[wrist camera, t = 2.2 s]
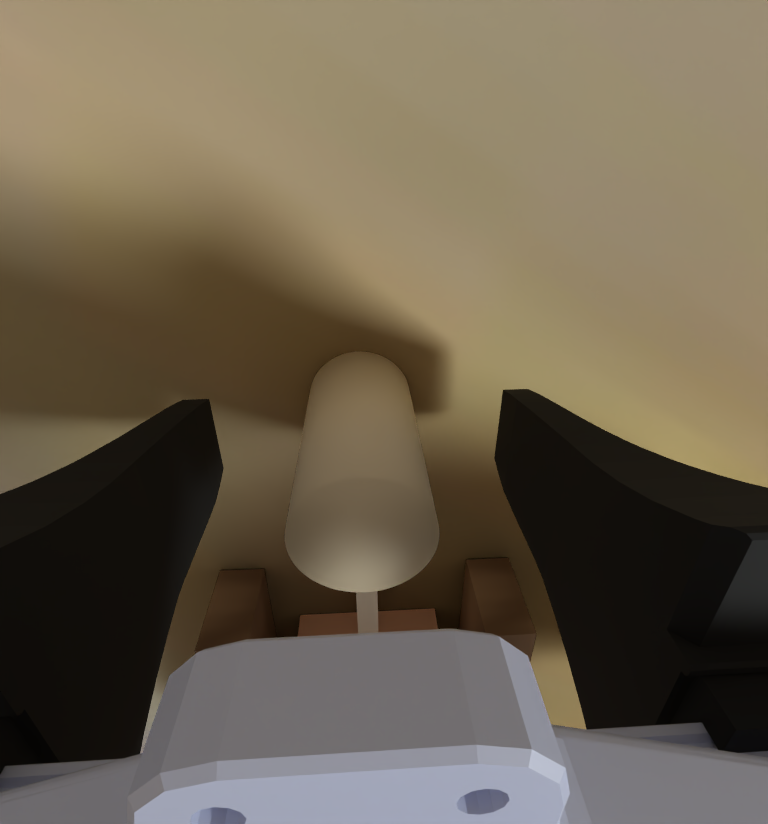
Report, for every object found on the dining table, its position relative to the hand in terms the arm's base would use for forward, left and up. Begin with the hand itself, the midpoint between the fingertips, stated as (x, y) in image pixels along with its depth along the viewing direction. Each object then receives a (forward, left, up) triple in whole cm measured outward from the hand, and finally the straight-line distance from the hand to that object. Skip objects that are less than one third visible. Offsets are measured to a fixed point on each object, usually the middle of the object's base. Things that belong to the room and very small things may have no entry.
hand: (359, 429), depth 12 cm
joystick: (0, +6, -2) cm, 7 cm away
